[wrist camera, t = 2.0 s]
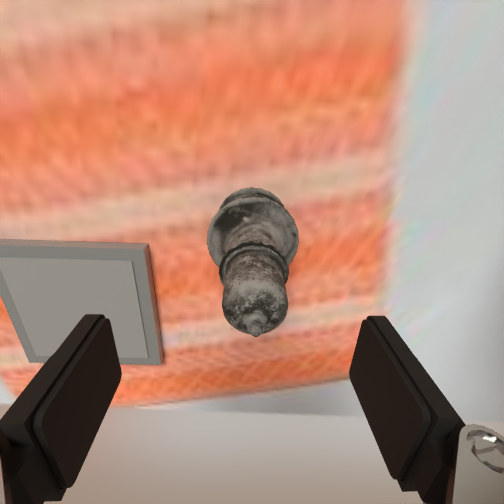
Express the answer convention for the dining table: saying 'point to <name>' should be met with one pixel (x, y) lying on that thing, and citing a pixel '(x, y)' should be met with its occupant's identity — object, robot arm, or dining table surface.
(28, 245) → the coaster
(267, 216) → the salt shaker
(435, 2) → the dining table surface
